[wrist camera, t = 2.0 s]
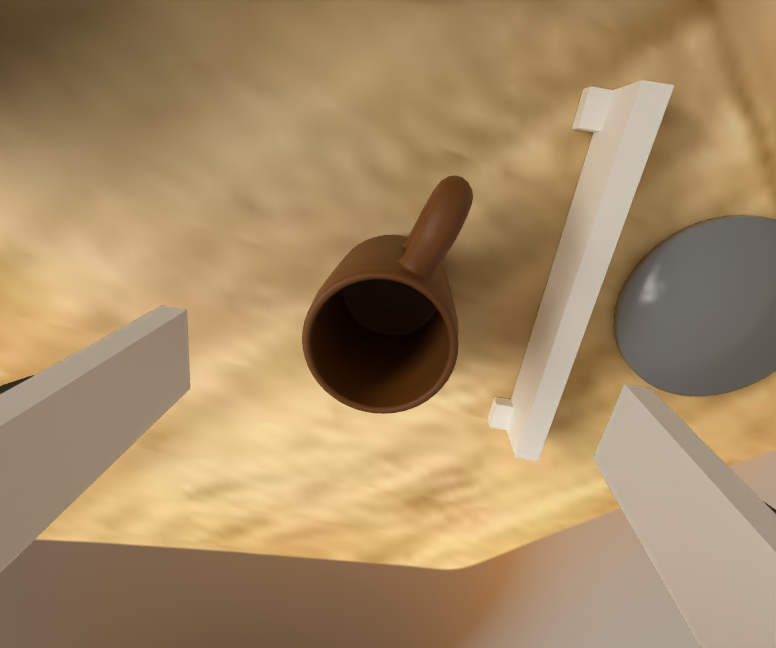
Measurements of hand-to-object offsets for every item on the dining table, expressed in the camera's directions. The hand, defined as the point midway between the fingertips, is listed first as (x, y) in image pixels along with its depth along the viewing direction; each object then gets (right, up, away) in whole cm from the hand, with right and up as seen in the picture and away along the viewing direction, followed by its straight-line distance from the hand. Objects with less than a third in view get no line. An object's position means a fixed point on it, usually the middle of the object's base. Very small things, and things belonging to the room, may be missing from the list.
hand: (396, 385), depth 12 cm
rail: (+11, +4, +14) cm, 18 cm away
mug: (+1, +6, +15) cm, 16 cm away
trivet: (+21, +3, +14) cm, 25 cm away
